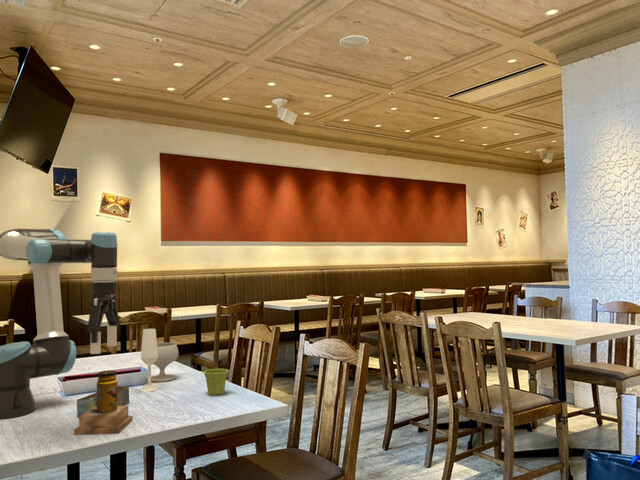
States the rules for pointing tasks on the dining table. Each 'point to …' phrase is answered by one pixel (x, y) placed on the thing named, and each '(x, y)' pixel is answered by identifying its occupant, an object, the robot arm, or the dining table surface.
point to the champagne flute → (149, 354)
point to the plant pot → (216, 381)
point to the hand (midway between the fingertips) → (104, 349)
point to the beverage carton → (91, 400)
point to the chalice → (165, 360)
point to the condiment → (106, 394)
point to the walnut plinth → (103, 430)
